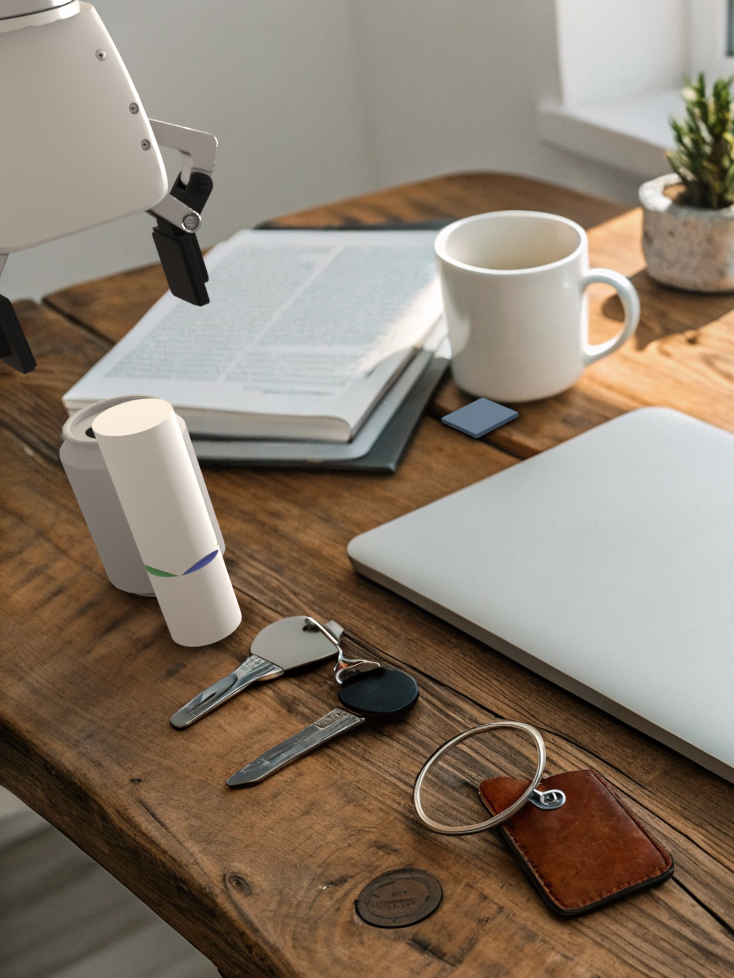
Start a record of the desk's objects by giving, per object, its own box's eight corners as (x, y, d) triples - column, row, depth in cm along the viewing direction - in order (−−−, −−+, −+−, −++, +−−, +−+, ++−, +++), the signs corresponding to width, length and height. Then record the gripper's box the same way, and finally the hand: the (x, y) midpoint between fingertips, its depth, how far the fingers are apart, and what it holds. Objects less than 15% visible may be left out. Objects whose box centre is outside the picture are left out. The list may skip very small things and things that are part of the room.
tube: (173, 611, 75) (96, 406, 67) (242, 597, 76) (175, 393, 68) (168, 652, 72) (86, 441, 63) (240, 637, 73) (169, 427, 64)
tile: (476, 438, 92) (476, 434, 92) (441, 422, 94) (440, 418, 94) (518, 416, 95) (518, 412, 94) (483, 401, 97) (482, 397, 97)
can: (87, 593, 77) (21, 436, 71) (165, 531, 83) (110, 380, 77) (178, 613, 75) (119, 452, 68) (251, 547, 81) (203, 393, 74)
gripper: (123, -48, 61) (218, 264, 70) (-258, 19, 50) (-86, 375, 60) (196, -40, 56) (287, 292, 66) (-204, 36, 46) (-28, 416, 56)
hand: (109, 331), depth 63 cm, fingers open, 9 cm apart
